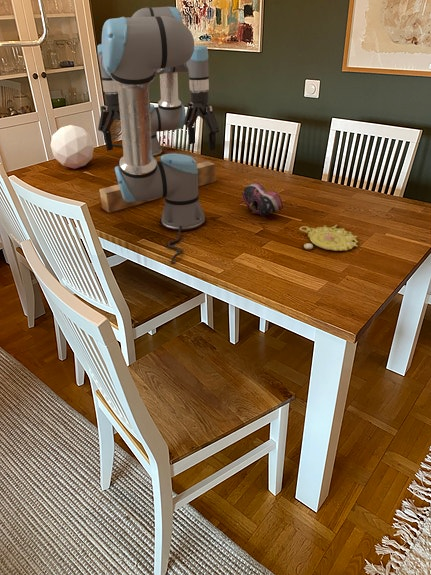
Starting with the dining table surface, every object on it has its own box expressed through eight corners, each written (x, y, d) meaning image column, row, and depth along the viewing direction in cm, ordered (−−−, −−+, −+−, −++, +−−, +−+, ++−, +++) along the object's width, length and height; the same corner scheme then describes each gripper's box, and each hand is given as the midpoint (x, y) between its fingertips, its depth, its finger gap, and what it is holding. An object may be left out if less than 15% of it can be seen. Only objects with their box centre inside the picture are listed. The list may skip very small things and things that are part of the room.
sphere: (81, 183, 214) (66, 157, 195) (51, 163, 218) (34, 136, 200) (107, 156, 219) (95, 128, 200) (77, 137, 223) (63, 108, 205)
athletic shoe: (254, 181, 170) (227, 189, 167) (283, 176, 151) (253, 185, 147) (260, 210, 173) (234, 218, 170) (290, 209, 154) (261, 219, 150)
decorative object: (343, 255, 128) (285, 234, 139) (342, 262, 130) (284, 241, 140) (372, 230, 142) (317, 213, 152) (371, 237, 143) (316, 219, 153)
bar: (109, 213, 165) (106, 193, 161) (102, 208, 169) (99, 189, 164) (215, 181, 191) (215, 163, 187) (207, 178, 195) (207, 160, 191)
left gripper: (227, 93, 165) (228, 150, 176) (188, 86, 181) (191, 139, 193) (212, 95, 161) (213, 154, 172) (173, 88, 177) (177, 142, 189)
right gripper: (148, 92, 156) (154, 153, 167) (97, 89, 167) (106, 146, 179) (134, 96, 150) (141, 158, 162) (82, 92, 162) (92, 150, 173)
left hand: (201, 146), depth 183 cm, fingers open, 13 cm apart
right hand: (122, 152), depth 170 cm, fingers open, 13 cm apart
